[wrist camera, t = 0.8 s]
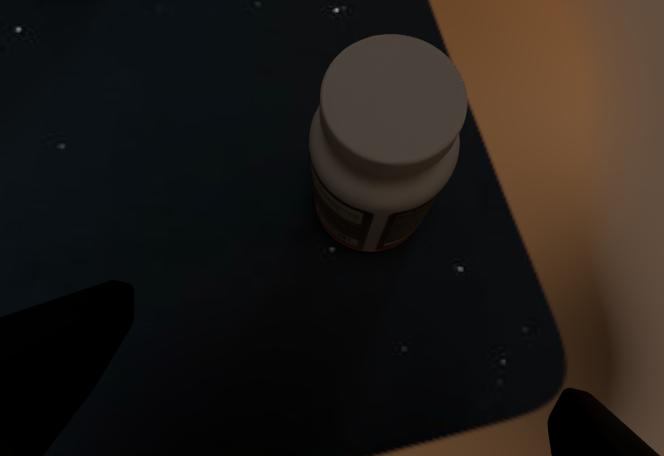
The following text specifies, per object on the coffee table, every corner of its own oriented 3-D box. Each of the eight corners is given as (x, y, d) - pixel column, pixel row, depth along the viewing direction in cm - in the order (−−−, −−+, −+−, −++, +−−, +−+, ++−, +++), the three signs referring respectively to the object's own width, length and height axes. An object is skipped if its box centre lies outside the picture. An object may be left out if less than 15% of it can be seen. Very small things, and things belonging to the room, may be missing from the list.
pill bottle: (417, 150, 24) (476, 18, 15) (427, 252, 23) (500, 177, 13) (312, 153, 24) (303, 21, 15) (315, 255, 23) (306, 182, 13)
